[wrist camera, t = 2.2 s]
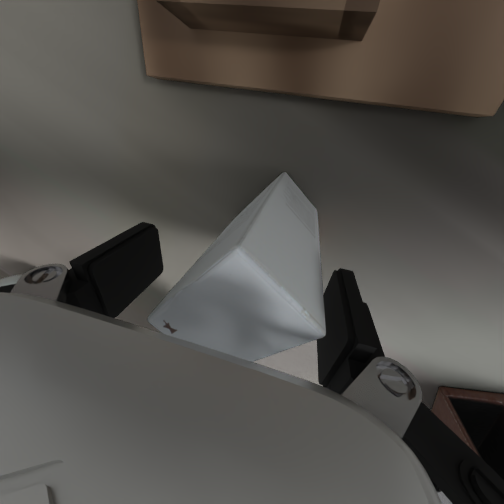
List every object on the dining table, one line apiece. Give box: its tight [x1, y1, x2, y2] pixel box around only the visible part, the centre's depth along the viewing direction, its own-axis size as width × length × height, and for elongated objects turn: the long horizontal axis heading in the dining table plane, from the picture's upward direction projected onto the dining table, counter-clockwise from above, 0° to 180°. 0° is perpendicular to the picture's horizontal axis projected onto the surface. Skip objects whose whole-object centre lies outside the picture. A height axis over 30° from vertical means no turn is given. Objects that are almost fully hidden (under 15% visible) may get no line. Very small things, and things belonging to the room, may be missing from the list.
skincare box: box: [147, 172, 326, 362], centre depth 12 cm, size 6×4×12 cm
